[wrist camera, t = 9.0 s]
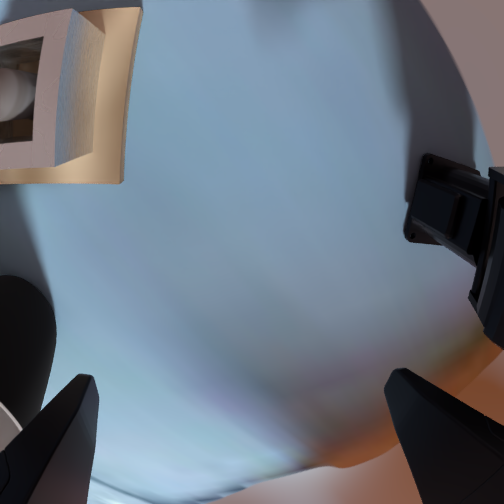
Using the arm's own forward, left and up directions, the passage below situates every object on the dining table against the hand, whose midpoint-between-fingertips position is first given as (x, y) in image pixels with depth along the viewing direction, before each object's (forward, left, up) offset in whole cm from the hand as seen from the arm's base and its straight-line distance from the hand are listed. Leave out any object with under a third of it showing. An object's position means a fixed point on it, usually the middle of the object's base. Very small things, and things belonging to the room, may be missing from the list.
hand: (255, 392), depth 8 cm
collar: (+11, -8, -11) cm, 17 cm away
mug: (+16, +8, -12) cm, 22 cm away
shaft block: (+11, -8, -12) cm, 18 cm away
